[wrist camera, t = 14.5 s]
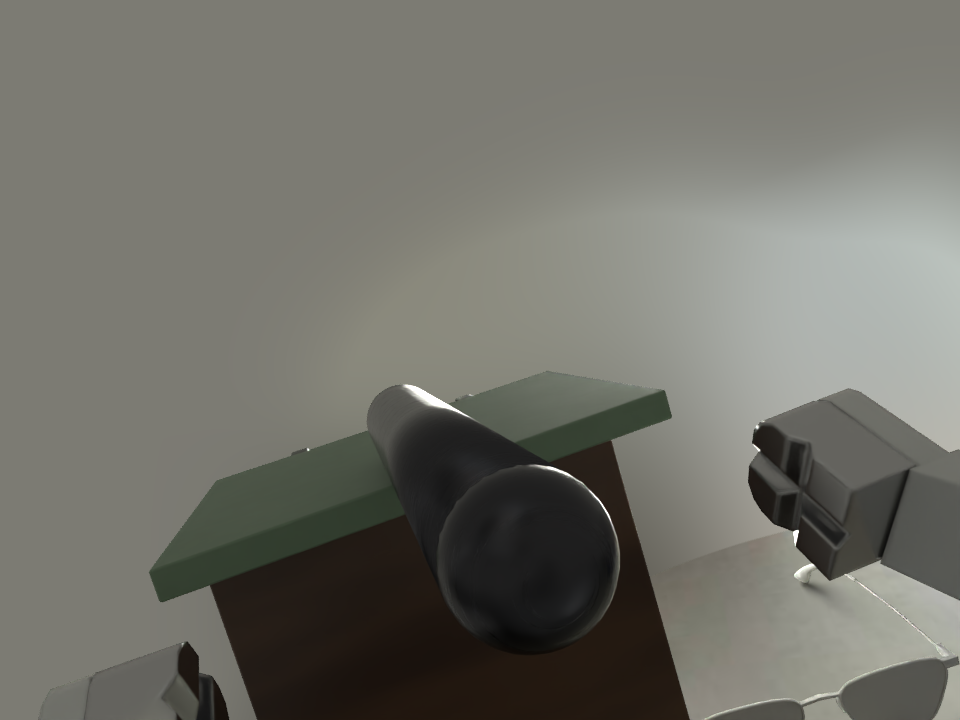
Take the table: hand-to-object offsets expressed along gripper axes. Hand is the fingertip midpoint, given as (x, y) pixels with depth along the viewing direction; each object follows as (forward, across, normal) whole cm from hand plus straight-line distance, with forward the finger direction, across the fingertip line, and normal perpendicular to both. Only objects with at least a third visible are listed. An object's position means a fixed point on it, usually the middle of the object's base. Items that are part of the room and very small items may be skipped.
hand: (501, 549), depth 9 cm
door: (+6, 0, +5) cm, 7 cm away
